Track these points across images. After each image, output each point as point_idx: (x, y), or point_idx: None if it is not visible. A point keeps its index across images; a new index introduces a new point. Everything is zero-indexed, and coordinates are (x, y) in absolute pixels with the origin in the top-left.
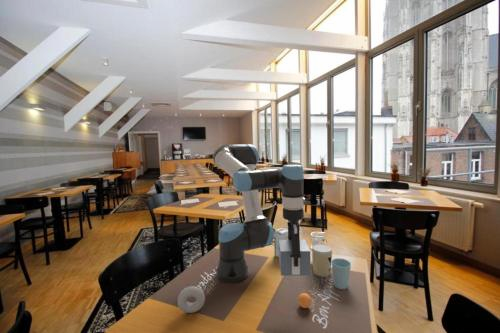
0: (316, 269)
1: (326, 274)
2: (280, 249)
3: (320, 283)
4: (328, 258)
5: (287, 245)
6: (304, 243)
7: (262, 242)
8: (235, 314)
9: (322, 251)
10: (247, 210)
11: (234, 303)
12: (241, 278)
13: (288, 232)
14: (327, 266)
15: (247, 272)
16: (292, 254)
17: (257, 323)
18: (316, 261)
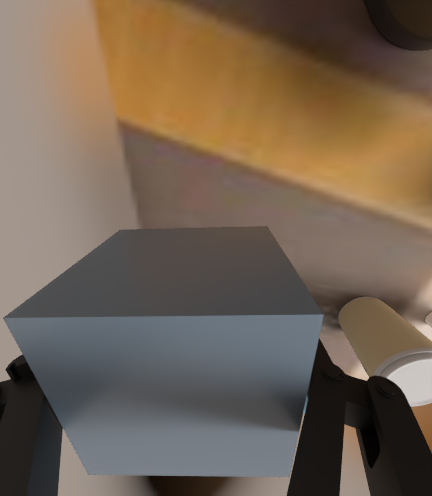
0: (358, 311)
1: (340, 324)
2: (47, 318)
3: None
4: (365, 370)
5: (163, 377)
6: (217, 466)
7: None
8: (159, 29)
9: (390, 379)
10: None
11: (216, 11)
12: (377, 13)
13: (396, 482)
14: (351, 345)
15: (417, 41)
16: (12, 386)
17: (134, 120)
18: (373, 331)
